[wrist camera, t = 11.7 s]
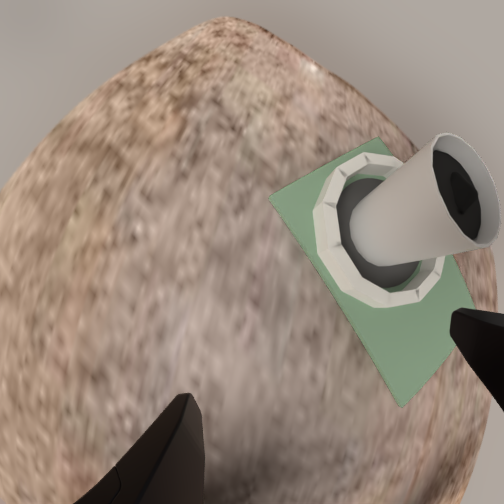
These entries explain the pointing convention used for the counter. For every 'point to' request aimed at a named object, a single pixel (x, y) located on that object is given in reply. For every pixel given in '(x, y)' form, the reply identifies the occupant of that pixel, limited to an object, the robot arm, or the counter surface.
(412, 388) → the practice green
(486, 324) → the robot arm
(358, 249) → the white coffee cup
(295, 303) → the counter surface
